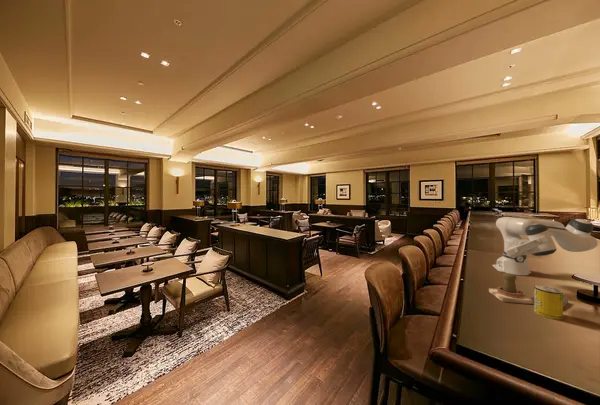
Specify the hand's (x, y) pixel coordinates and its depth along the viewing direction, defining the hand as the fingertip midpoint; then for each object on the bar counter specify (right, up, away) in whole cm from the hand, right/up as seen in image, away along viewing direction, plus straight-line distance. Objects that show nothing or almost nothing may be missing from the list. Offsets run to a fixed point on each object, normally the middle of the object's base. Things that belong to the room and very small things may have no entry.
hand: (528, 245), depth 125 cm
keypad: (+2, -28, -9) cm, 30 cm away
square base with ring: (-12, -28, -2) cm, 30 cm away
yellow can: (-11, -28, -20) cm, 36 cm away
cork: (-13, -26, -2) cm, 29 cm away
